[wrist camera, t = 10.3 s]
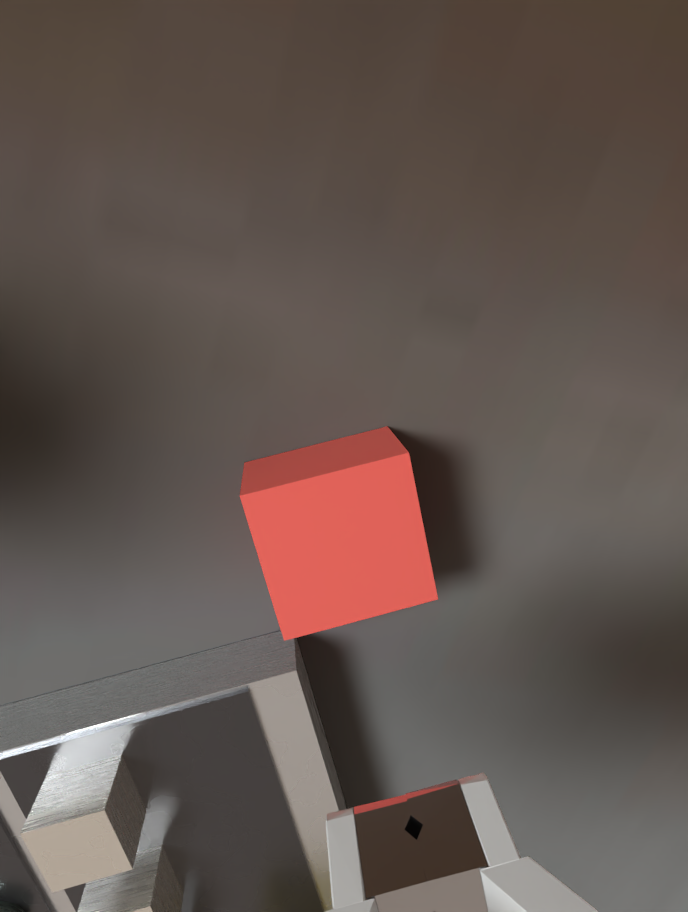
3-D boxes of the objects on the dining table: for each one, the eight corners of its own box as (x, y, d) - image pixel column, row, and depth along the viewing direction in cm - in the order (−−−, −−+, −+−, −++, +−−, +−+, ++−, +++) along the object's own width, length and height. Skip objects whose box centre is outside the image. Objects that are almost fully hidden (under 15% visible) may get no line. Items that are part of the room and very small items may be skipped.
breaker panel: (293, 627, 26) (299, 719, 20) (367, 876, 31) (388, 1004, 25) (-113, 736, 25) (-220, 864, 19) (31, 975, 30) (-22, 1130, 24)
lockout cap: (387, 426, 23) (408, 452, 20) (413, 554, 25) (438, 599, 22) (244, 462, 23) (239, 495, 20) (281, 589, 25) (284, 640, 21)
